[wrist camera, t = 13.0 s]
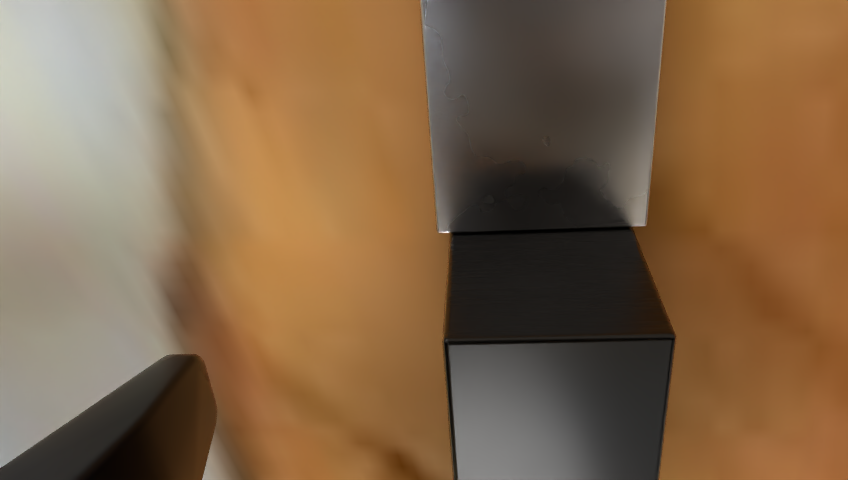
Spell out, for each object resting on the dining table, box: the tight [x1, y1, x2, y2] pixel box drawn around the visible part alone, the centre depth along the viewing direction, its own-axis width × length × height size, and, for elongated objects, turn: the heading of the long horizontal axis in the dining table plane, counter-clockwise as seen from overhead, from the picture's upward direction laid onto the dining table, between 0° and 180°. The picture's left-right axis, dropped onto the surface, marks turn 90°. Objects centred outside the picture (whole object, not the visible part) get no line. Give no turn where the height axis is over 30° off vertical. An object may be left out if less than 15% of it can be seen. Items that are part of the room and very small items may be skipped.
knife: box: [420, 0, 676, 480], centre depth 7 cm, size 21×2×2 cm, turn 4°
